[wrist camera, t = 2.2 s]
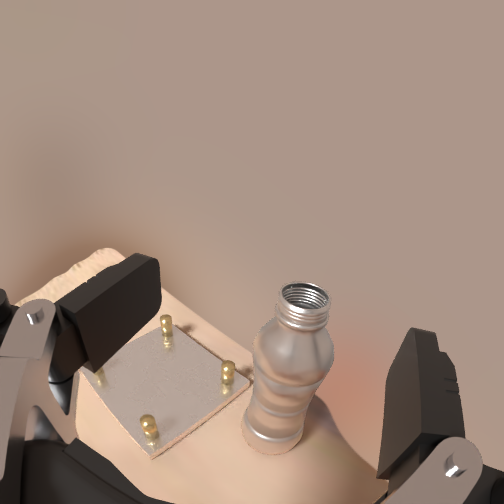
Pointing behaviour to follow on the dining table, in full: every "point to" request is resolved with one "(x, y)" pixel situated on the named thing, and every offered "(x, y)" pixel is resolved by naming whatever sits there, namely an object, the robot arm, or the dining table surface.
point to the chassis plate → (164, 387)
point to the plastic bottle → (288, 368)
